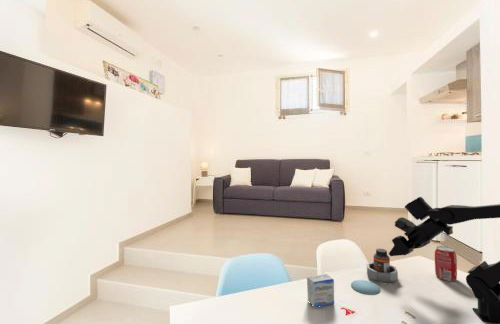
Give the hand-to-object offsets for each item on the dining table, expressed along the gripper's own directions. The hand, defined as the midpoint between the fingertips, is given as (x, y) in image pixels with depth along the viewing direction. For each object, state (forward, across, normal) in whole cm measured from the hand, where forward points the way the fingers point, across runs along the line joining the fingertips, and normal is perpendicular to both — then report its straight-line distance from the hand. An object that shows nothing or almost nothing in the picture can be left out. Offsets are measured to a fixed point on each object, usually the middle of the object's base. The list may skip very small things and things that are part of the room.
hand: (395, 252), depth 98 cm
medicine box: (+14, +35, +3) cm, 38 cm away
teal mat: (+12, +13, +5) cm, 18 cm away
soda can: (+2, -20, +16) cm, 25 cm away
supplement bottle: (+13, 0, +5) cm, 13 cm away
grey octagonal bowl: (+12, 0, +4) cm, 13 cm away
